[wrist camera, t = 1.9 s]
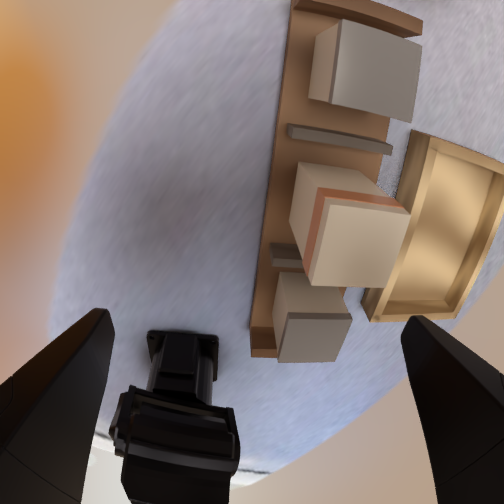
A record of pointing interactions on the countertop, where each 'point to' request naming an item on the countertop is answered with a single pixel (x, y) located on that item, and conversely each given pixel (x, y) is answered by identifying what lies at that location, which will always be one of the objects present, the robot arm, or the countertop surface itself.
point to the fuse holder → (314, 142)
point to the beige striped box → (345, 227)
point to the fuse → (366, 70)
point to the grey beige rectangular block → (308, 320)
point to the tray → (440, 230)
